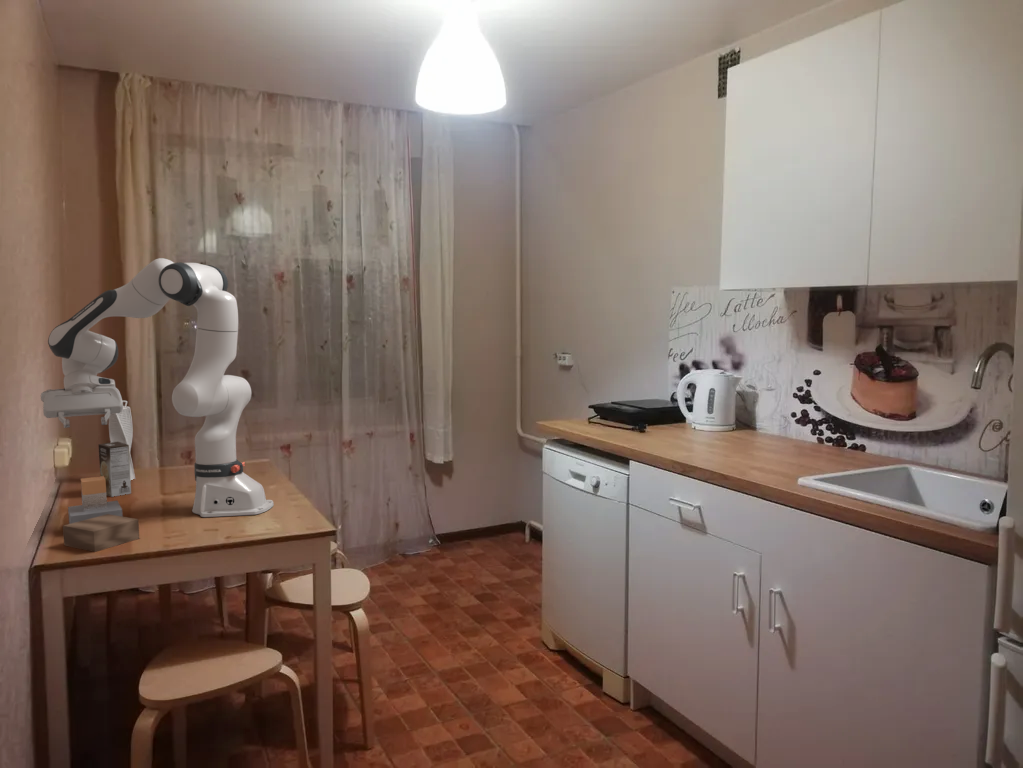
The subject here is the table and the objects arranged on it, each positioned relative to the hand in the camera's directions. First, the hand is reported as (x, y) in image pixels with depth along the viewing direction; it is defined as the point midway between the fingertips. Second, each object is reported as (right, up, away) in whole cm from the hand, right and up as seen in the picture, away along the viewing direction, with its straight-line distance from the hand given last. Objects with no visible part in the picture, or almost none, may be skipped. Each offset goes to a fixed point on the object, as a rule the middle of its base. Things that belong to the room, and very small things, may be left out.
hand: (85, 424), depth 215 cm
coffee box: (-5, -24, +27) cm, 36 cm away
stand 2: (+19, -28, -26) cm, 42 cm away
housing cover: (+9, -17, -12) cm, 23 cm away
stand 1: (+9, -27, -11) cm, 31 cm away
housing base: (+9, -22, -12) cm, 27 cm away
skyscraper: (-13, -22, +45) cm, 52 cm away
